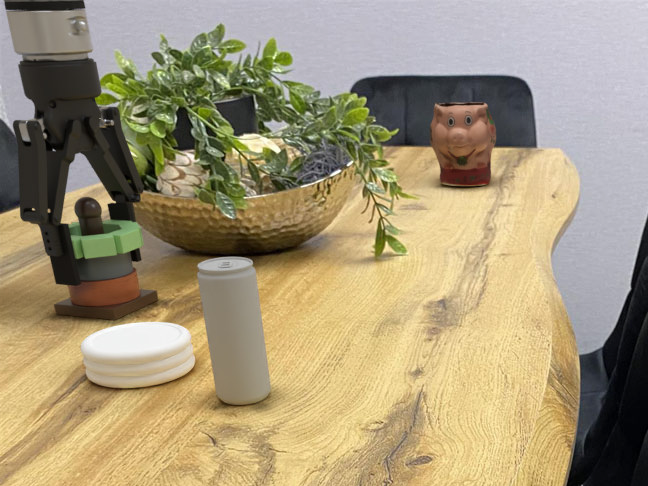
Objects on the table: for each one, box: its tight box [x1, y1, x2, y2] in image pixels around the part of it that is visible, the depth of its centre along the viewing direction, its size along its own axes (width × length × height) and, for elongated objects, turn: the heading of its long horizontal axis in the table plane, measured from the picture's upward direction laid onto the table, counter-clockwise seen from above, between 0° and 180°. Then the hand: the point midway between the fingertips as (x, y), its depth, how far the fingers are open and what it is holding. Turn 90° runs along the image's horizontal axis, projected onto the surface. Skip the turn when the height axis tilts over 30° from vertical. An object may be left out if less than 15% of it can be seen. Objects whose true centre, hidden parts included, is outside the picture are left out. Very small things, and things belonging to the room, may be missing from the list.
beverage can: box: [196, 256, 272, 406], centre depth 84 cm, size 5×5×12 cm
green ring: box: [67, 218, 145, 259], centre depth 108 cm, size 10×10×2 cm
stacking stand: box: [53, 196, 159, 321], centre depth 109 cm, size 8×8×12 cm
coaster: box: [80, 321, 196, 389], centre depth 92 cm, size 10×10×4 cm
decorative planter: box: [429, 101, 497, 187], centre depth 177 cm, size 20×12×14 cm, turn 5°
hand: (100, 271), depth 110 cm, fingers closed on green ring, 10 cm apart
